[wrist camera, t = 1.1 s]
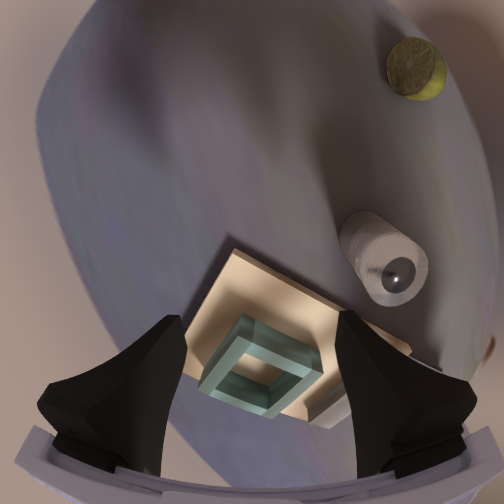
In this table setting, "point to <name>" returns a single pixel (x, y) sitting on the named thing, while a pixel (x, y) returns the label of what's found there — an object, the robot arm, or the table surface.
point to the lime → (416, 69)
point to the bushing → (383, 258)
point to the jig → (269, 345)
